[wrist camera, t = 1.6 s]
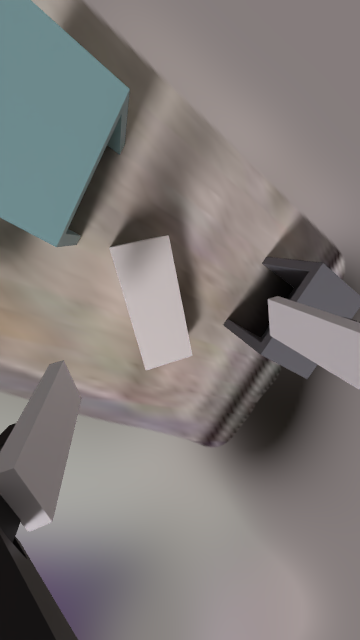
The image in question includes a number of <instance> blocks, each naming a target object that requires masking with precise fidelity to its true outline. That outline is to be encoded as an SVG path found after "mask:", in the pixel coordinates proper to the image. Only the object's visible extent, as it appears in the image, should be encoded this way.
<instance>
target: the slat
mask: <svg viewBox="0 0 360 640" xmlns="http://www.w3.org/2000/svg"><path fill="white" fill-rule="evenodd" d="M110 252H111V255H112V258H113V262H114V265H115V268H116V272H117V275H118V279H119V282H120V285H121V289H122V292H123V295H124V299H125V302H126V305H127V309H128V312H129V315H130V319H131V322H132V325H133V329H134V332H135V336H136V339H137V342H138V346H139V349H140V352H141V356H142V359H143V362H144V366H145V369H146V370H149V369H152V368H155V367H158V366H162V365H165V364H168V363H171V362H174V361H177V360H180V359H184V358H187V357H190V356H192V351H191V346H190V341H189V336H188V331H187V326H186V320H185V315H184V310H183V305H182V300H181V295H180V290H179V285H178V280H177V275H176V270H175V265H174V259H173V254H172V249H171V244H170V239H169V235H167V236H159V237H154V238H149V239H144V240H140V241H135V242H130V243H125V244H121V245H116V246H111V247H110Z"/></svg>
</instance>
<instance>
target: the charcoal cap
mask: <svg viewBox="0 0 360 640" xmlns="http://www.w3.org/2000/svg"><path fill="white" fill-rule="evenodd" d="M262 264H263V265H265V266H266V267H267V268H269V269H270V270H271V271H273V272H274V273H275V274H277V275H278V276H279V277H280V278H282V279H283V280H284V281H286V282H287V283H288V284H290V285H291V286H292V287H294V289H293V291H292V292H291V294H290V295H289V297H288V298H287V299H288V300H291V301H295V302H298V303H301V304H304V305H307V306H310V307H313V308H316V309H319V310H322V311H325V312H328V313H331V314H334V315H337V316H340V317H345V318H349V319H352V317H353V316H354V314H355V313H356V312H357V310H358V309H359V308H360V296H359V295H358V294H357V293H356V292H355V291H354V290H353V289H352V288H351V287H349V286H348V285H347V284H346V283H345V282H344V281H343V280H342V279H341V278H339V277H338V276H337V275H336V274H335V273H334V272H333V271H332V270H330V269H329V268H328V267H327V266H326V265H325V264H324V263H319V262H310V261H301V260H291V259H282V258H273V257H266V259H265V260H264V262H263V263H262ZM224 326H225V327H226V328H228V329H229V330H230V331H231V332H233V333H234V334H235V335H237V336H238V337H239V338H240V339H242V340H243V341H244V342H245V343H247V344H248V345H249V346H250V347H252V348H253V349H254V350H256V351H257V352H258V353H259V354H261V355H263V356H264V357H266V358H268V359H270V360H272V361H274V362H276V363H278V364H280V365H282V366H284V367H285V368H287V369H289V370H291V371H293V372H295V373H297V374H299V375H301V376H302V377H304V378H308V377H309V376H310V374H311V373H312V371H313V370H314V369H315V367H316V366H317V365H318V364H316V363H314V362H313V361H311V360H310V359H308V358H306V357H305V356H303V355H301V354H300V353H298V352H296V351H295V350H293V349H291V348H290V347H288V346H286V345H285V344H283V343H281V342H280V341H278V340H276V339H275V338H273V337H271V336H270V327H269V326H268V328H267V329H266V331H265V332H264V334H263V335H262V337H261V338H260V337H258V336H257V335H255V334H253V333H251V332H250V331H248V330H246V329H244V328H242V327H241V326H239V325H237V324H235V323H234V322H232V321H230V320H228V319H227V320H226V322H225V323H224Z"/></svg>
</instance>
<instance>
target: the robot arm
mask: <svg viewBox="0 0 360 640" xmlns="http://www.w3.org/2000/svg"><path fill="white" fill-rule="evenodd" d="M268 311H269V327H270V336H271V337H273V338H275V339H276V340H278V341H280V342H281V343H283V344H285V345H286V346H288V347H290V348H291V349H293V350H295V351H296V352H298V353H300V354H301V355H303V356H305V357H306V358H308V359H310V360H311V361H313V362H314V363H316V364H318V365H320V366H321V367H323V368H324V369H326V370H328V371H329V372H331V373H333V374H334V375H336V376H338V377H339V378H341V379H343V380H344V381H346V382H348V383H349V384H351V385H353V386H354V387H356V388H358V389H359V390H360V322H357V321H355V320H352V319H349V318H345V317H340V316H337V315H334V314H331V313H328V312H325V311H322V310H319V309H316V308H313V307H310V306H307V305H304V304H301V303H298V302H295V301H291V300H288V299H285V298H282V297H279V296H276V297H273V298H270V299H268ZM80 402H81V396H80V394H79V392H78V390H77V388H76V385H75V383H74V381H73V379H72V377H71V375H70V373H69V370H68V368H67V366H66V364H65V362H64V360H63V361H59V362H56V363H53V364H50V365H49V366H48V368H47V370H46V372H45V373H44V375H43V377H42V379H41V380H40V382H39V384H38V386H37V388H36V389H35V391H34V393H33V395H32V396H31V398H30V400H29V402H28V404H27V405H26V407H25V409H24V411H23V412H22V414H21V416H20V418H19V419H18V421H17V423H16V424H12V425H10V426H8V427H7V429H5V430H4V431H3V432H2V433H1V435H0V640H78V639H77V637H76V636H75V634H74V632H73V631H72V629H71V627H70V626H69V624H68V622H67V621H66V619H65V617H64V615H63V614H62V612H61V610H60V609H59V607H58V605H57V604H56V602H55V600H54V599H53V597H52V595H51V594H50V592H49V590H48V588H47V587H46V585H45V584H44V582H43V580H42V578H41V577H40V575H39V573H38V572H37V570H36V568H35V567H34V565H33V563H32V562H31V560H30V558H29V557H28V555H27V553H26V551H25V550H24V548H23V546H22V545H21V543H20V541H19V540H18V539H17V538H16V537H15V535H16V532H17V530H18V527H19V524H20V522H21V523H22V525H23V526H24V527H25V528H26V529H27V531H28V532H29V531H32V530H34V529H36V528H39V527H41V526H44V525H46V524H49V523H51V522H52V521H53V517H54V512H55V509H56V504H57V500H58V496H59V491H60V487H61V483H62V479H63V474H64V470H65V466H66V462H67V458H68V453H69V449H70V445H71V441H72V436H73V432H74V427H75V424H76V419H77V415H78V411H79V407H80Z"/></svg>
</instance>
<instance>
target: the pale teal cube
mask: <svg viewBox="0 0 360 640" xmlns="http://www.w3.org/2000/svg"><path fill="white" fill-rule="evenodd" d="M129 92H130V89H129V88H128V87H127V86H126V85H124V84H123V83H122V82H121V81H120V80H119V79H118V78H117V77H116V76H114V75H113V74H112V73H111V72H110V71H109V70H108V69H107V68H106V67H104V66H103V65H102V64H101V63H100V62H99V61H98V60H97V59H95V58H94V57H93V56H92V55H91V54H90V53H89V52H88V51H87V50H85V49H84V48H83V47H82V46H81V45H80V44H79V43H78V42H77V41H75V40H74V39H73V38H72V37H71V36H70V35H69V34H68V33H67V32H65V31H64V30H63V29H62V28H61V27H60V26H59V25H58V24H56V23H55V22H54V21H53V20H52V19H51V18H50V17H49V16H48V15H46V14H45V13H44V12H43V11H42V10H41V9H40V8H39V7H38V6H36V5H35V4H34V3H33V2H32V1H31V0H0V218H2V219H4V220H6V221H8V222H9V223H11V224H13V225H15V226H17V227H19V228H21V229H23V230H25V231H27V232H29V233H30V234H32V235H34V236H36V237H38V238H40V239H42V240H44V241H46V242H48V243H49V244H51V245H53V246H55V247H62V246H71V245H77V243H78V241H79V239H80V237H81V236H80V235H78V234H77V233H75V232H73V231H71V230H70V229H68V227H69V225H70V223H71V221H72V219H73V217H74V215H75V212H76V210H77V208H78V206H79V204H80V202H81V200H82V197H83V195H84V193H85V191H86V189H87V187H88V185H89V182H90V180H91V178H92V176H93V174H94V172H95V170H96V167H97V165H98V163H99V161H100V159H101V157H102V155H103V152H104V150H105V148H106V146H109V147H110V148H111V149H113V150H114V151H115V152H117V153H118V154H119V155H120V153H121V151H122V149H123V147H124V145H125V136H126V125H127V114H128V103H129Z"/></svg>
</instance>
